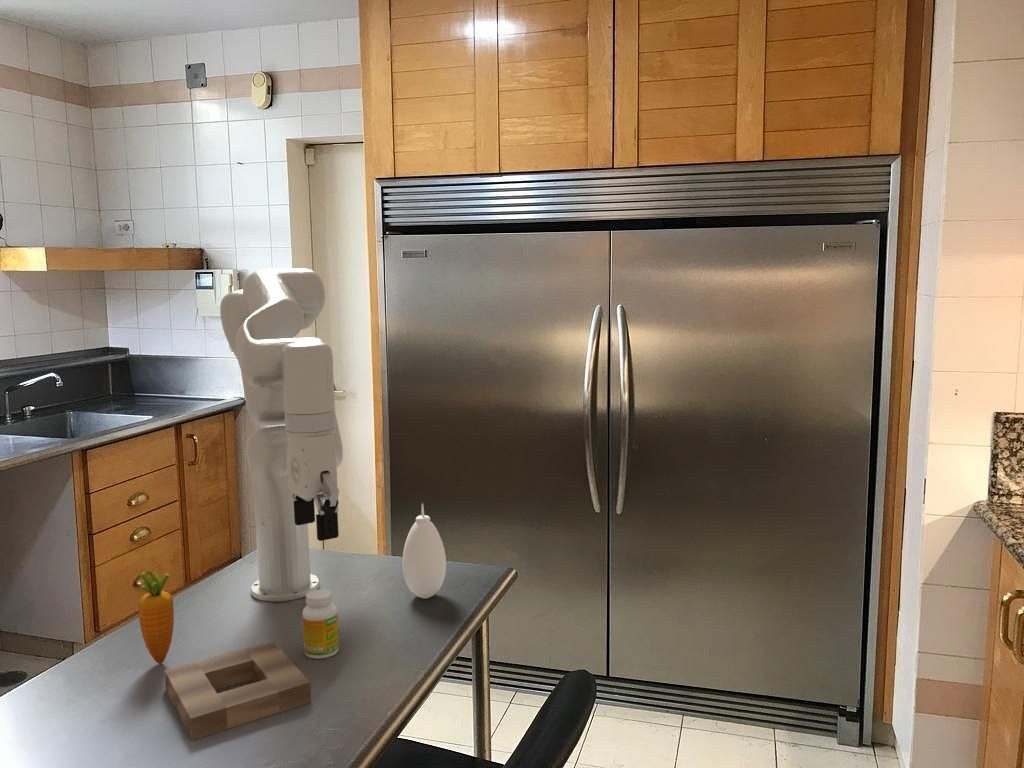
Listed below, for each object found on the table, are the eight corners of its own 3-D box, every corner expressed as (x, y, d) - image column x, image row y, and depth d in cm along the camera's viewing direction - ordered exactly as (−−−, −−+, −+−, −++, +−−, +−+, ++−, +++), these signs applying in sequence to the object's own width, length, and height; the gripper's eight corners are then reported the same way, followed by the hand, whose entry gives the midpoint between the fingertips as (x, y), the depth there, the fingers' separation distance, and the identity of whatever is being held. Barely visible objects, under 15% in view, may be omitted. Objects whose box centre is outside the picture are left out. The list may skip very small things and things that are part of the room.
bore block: (165, 689, 119) (164, 670, 118) (274, 659, 128) (273, 640, 127) (192, 740, 106) (190, 718, 105) (311, 702, 115) (310, 682, 114)
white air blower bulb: (454, 593, 153) (452, 500, 150) (428, 608, 146) (425, 511, 144) (422, 585, 157) (419, 494, 154) (395, 599, 150) (391, 504, 148)
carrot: (184, 658, 128) (177, 567, 126) (161, 673, 124) (154, 578, 122) (159, 654, 130) (152, 564, 128) (135, 668, 125) (127, 575, 123)
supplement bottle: (330, 661, 127) (327, 601, 125) (298, 658, 128) (295, 599, 127) (344, 645, 132) (341, 588, 131) (313, 643, 133) (310, 586, 132)
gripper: (268, 418, 130) (274, 522, 132) (307, 434, 116) (313, 550, 118) (313, 413, 134) (318, 514, 136) (356, 427, 120) (361, 540, 122)
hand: (316, 530), depth 127 cm, fingers open, 9 cm apart
